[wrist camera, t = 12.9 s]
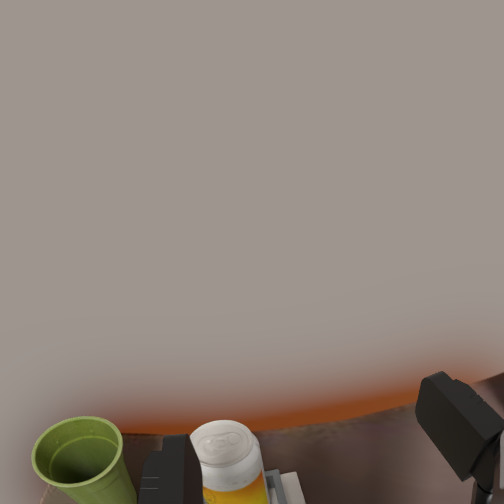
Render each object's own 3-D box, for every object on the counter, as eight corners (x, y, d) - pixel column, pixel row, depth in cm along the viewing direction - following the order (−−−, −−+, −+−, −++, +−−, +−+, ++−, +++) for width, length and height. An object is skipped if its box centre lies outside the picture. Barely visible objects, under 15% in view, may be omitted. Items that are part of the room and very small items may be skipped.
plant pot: (164, 476, 34) (136, 420, 31) (141, 545, 23) (99, 499, 20) (91, 463, 35) (59, 409, 32) (61, 520, 24) (14, 469, 21)
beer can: (211, 507, 28) (176, 426, 24) (261, 492, 30) (243, 409, 26) (227, 546, 22) (190, 478, 19) (281, 529, 24) (269, 455, 20)
